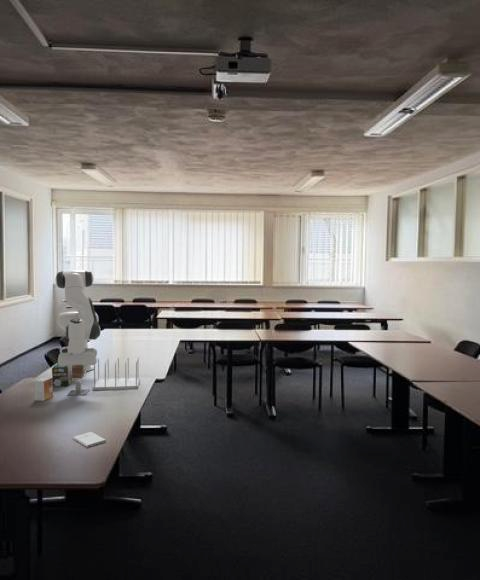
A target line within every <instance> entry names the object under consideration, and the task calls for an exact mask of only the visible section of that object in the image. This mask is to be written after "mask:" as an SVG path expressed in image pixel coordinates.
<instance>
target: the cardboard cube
mask: <svg viewBox="0 0 480 580" xmlns="http://www.w3.org/2000/svg"><path fill="white" fill-rule="evenodd" d="M83 370H84V365H81V366H72V380H73V379H83V377H85V373H83Z"/></svg>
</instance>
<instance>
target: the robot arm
mask: <svg viewBox="0 0 480 580" xmlns="http://www.w3.org/2000/svg"><path fill="white" fill-rule="evenodd" d="M94 278H95V277H94V274H93V273H92V271H91V270H87V269H85V270H83V269H73V270H65V271H62V270H61V271H59V272H57V273H56V275H55V284H56V286H57V288H59V289H63V290H64V296H65V301H66V302H67V304H68V306H69V307H70V308H71V309H74V310H76V311H64V312H60V313H59V315H58V316H57V317H56V322H57V326H59V328H61V329H62V330H63V331H64V332H65V333H66V334H65V338H66V339H67V340H68V345H67V346H63V347H61V348H60V349H59V354H58V357H57V360H58V365H59V366H68V369H69V370H70V374H72V366H81V365H84V370H83V373H84V374H86V373H87V372H88V371H94V365H95V366H96V365H97V364H98V361H97V359H98V358H97V355H98V350H97V349H96V348H94V347H92V348H89V347H88V346H89V345H88V344H89V343H88V340H94V341H96V340H97V339H98V338H99V337H100V336H101V327H100V325H99V318H100V317H99V315H98V313H97V312H96V311H95V306H94V303H93V300H92V298H91V297H89V296H88V295H87V294H86V289H85V288H89V287H91V286H92V285H93V284H94ZM70 367H71V368H70Z"/></svg>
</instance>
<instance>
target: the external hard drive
mask: <svg viewBox="0 0 480 580" xmlns="http://www.w3.org/2000/svg"><path fill="white" fill-rule="evenodd" d="M72 438H73V439H72V440H74V441H76V442H77V441H78V443H79V444H81V445H82V446H84V447H85V446H86V447H85V448H87V447H88V448H90V447H89V446H91V447H94V446H97V445H96V444H98V445H101V444H103V443H107V440H106V439H105V438H103V437H101V436H100V435H98V434H96V433H94V432H92V431H89V432H86V433H82V434H78V435H74V436H73V437H72ZM100 443H101V444H100ZM93 445H94V446H93Z"/></svg>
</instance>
